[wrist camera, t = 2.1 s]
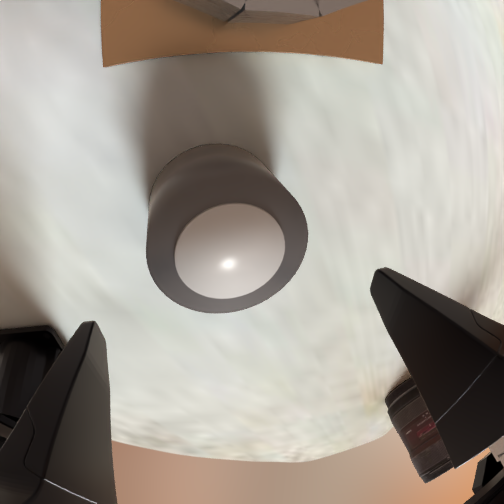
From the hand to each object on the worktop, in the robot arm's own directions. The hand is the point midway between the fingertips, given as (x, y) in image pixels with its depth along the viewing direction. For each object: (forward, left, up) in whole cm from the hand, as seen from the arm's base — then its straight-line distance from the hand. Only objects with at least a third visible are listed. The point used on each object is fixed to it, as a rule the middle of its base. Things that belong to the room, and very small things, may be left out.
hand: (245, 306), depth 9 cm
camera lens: (+24, -31, -7) cm, 40 cm away
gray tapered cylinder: (0, 0, -7) cm, 7 cm away
